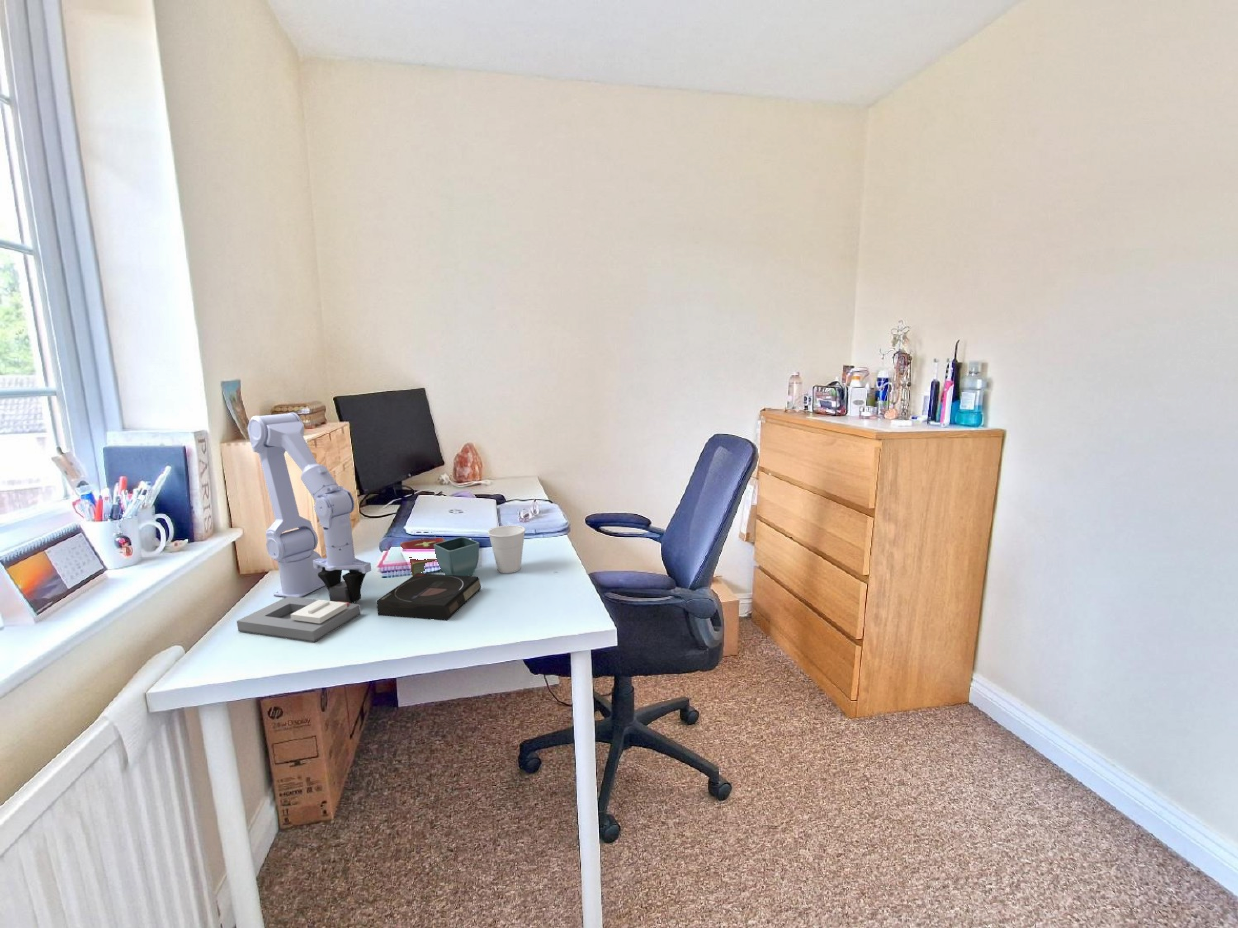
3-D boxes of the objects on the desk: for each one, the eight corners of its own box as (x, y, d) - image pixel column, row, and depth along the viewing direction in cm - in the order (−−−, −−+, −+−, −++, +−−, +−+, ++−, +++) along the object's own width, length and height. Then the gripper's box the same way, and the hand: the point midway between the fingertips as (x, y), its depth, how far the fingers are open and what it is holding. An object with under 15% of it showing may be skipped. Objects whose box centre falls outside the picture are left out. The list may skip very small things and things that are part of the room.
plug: (345, 599, 132) (343, 579, 132) (361, 601, 131) (359, 581, 130) (331, 608, 128) (328, 587, 127) (347, 610, 127) (344, 588, 126)
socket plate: (289, 605, 130) (288, 593, 129) (360, 614, 124) (359, 601, 124) (238, 631, 118) (236, 618, 117) (314, 642, 112) (312, 628, 112)
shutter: (319, 604, 124) (318, 597, 123) (347, 607, 122) (346, 600, 121) (291, 619, 117) (290, 611, 116) (320, 623, 114) (319, 615, 114)
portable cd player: (448, 622, 120) (447, 605, 120) (378, 617, 124) (376, 600, 123) (481, 592, 136) (480, 576, 136) (418, 588, 140) (417, 573, 139)
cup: (495, 563, 154) (493, 525, 152) (531, 562, 154) (528, 524, 152) (485, 576, 145) (483, 536, 143) (523, 576, 144) (521, 535, 142)
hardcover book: (412, 578, 146) (411, 562, 146) (400, 555, 165) (399, 541, 164) (458, 568, 152) (457, 554, 151) (442, 547, 170) (441, 534, 170)
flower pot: (435, 576, 146) (432, 543, 144) (465, 567, 152) (463, 535, 150) (451, 585, 140) (448, 551, 138) (482, 575, 146) (480, 542, 144)
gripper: (299, 546, 125) (307, 603, 128) (352, 551, 121) (359, 609, 124) (323, 537, 132) (330, 591, 134) (374, 541, 128) (381, 596, 130)
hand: (345, 599), depth 129 cm, fingers closed on plug, 5 cm apart
